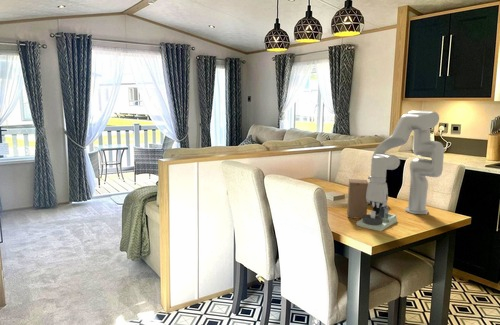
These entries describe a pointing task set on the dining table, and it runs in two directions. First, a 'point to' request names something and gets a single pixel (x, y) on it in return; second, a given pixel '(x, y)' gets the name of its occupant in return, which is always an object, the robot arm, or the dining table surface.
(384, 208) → the block
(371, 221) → the faceted grey bowl
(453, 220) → the dining table surface
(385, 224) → the chassis
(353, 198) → the wooden block
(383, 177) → the robot arm
